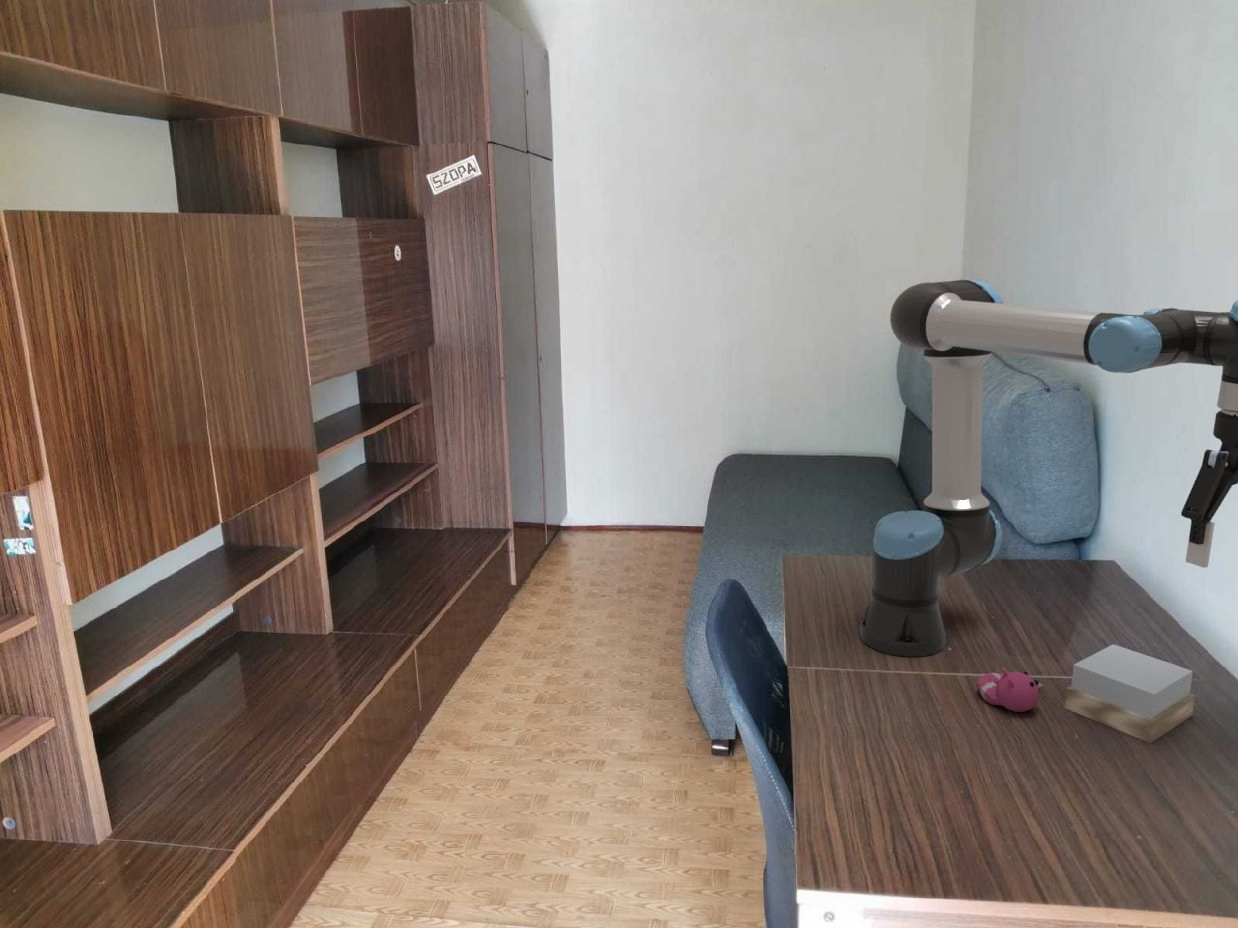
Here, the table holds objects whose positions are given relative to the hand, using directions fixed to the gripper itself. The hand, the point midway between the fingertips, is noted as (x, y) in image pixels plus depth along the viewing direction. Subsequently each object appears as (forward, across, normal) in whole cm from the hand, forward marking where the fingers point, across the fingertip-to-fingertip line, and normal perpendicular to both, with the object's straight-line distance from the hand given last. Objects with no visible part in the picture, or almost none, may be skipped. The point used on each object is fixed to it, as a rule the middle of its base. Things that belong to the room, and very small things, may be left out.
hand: (1225, 556), depth 132 cm
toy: (+27, -19, +18) cm, 38 cm away
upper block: (+23, -7, +7) cm, 25 cm away
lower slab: (+27, -6, +7) cm, 29 cm away
